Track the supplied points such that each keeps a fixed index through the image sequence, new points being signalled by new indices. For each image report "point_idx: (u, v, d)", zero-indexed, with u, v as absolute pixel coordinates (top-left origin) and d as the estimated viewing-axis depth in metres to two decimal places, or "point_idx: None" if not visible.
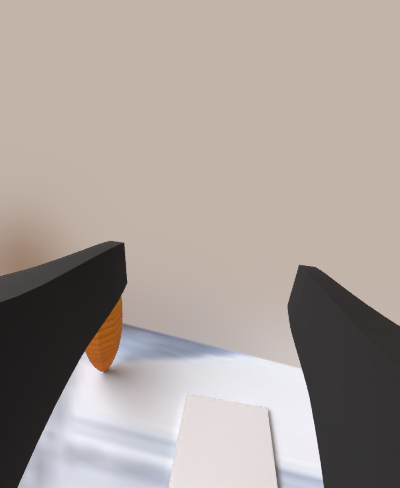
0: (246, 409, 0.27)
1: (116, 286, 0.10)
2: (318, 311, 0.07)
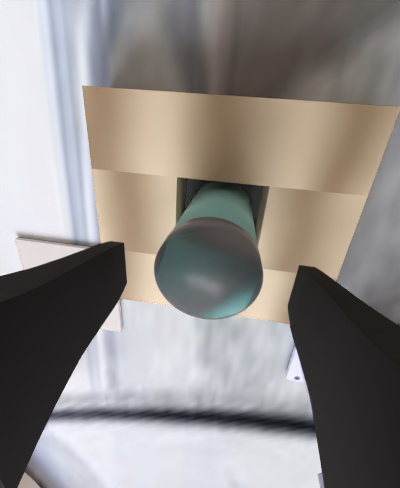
0: (27, 262, 0.22)
1: (116, 286, 0.10)
2: (318, 311, 0.07)
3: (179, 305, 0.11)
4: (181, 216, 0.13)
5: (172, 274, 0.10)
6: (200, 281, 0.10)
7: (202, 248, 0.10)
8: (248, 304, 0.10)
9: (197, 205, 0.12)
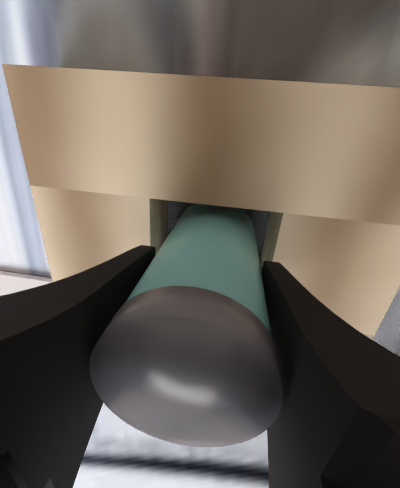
0: None
1: None
2: (273, 305, 0.08)
3: (138, 424, 0.07)
4: None
5: (122, 383, 0.06)
6: (170, 397, 0.06)
7: (170, 350, 0.05)
8: (254, 434, 0.06)
9: (173, 248, 0.08)
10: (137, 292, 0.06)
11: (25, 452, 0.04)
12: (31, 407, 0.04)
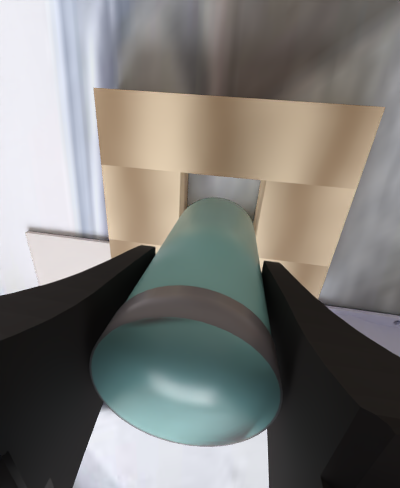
0: (36, 255, 0.24)
1: None
2: (273, 305, 0.08)
3: (138, 424, 0.07)
4: None
5: (122, 383, 0.06)
6: (170, 396, 0.06)
7: (170, 350, 0.05)
8: (254, 433, 0.06)
9: (173, 248, 0.08)
10: (137, 292, 0.06)
11: (25, 452, 0.04)
12: (31, 407, 0.04)
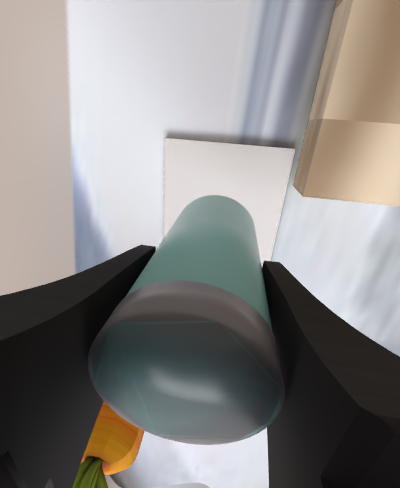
0: (172, 172, 0.18)
1: None
2: (273, 305, 0.08)
3: (136, 420, 0.06)
4: None
5: (120, 378, 0.06)
6: (170, 393, 0.06)
7: (172, 346, 0.05)
8: (253, 432, 0.06)
9: (175, 243, 0.08)
10: (139, 286, 0.06)
11: (25, 452, 0.04)
12: (31, 407, 0.04)
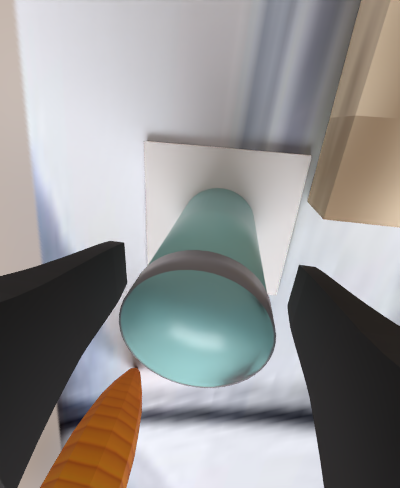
0: (155, 184, 0.15)
1: (116, 286, 0.10)
2: (318, 311, 0.07)
3: (155, 367, 0.08)
4: None
5: (145, 329, 0.07)
6: (185, 341, 0.07)
7: (188, 299, 0.07)
8: (251, 373, 0.07)
9: (186, 226, 0.09)
10: (158, 257, 0.08)
11: None
12: None
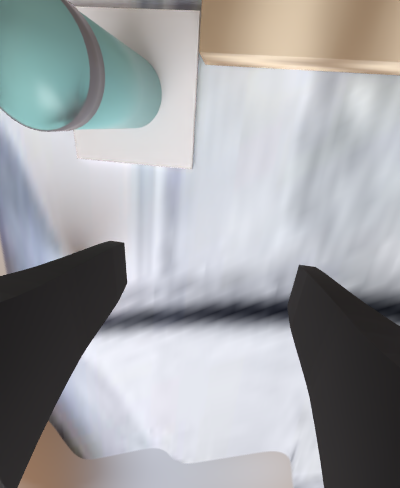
0: None
1: (116, 286, 0.10)
2: (318, 311, 0.07)
3: (12, 112, 0.10)
4: None
5: None
6: (24, 69, 0.09)
7: (14, 13, 0.08)
8: (83, 102, 0.09)
9: None
10: None
11: None
12: None
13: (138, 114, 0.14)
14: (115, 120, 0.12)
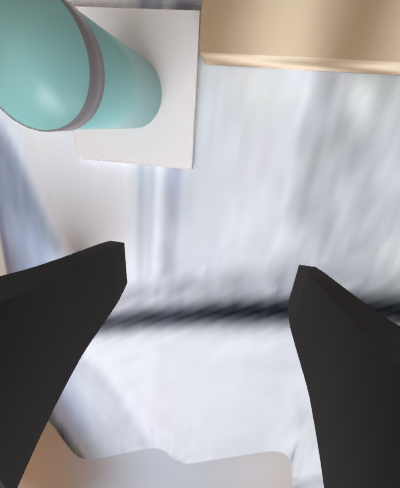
0: None
1: (116, 286, 0.10)
2: (318, 311, 0.07)
3: (12, 112, 0.10)
4: None
5: None
6: (24, 69, 0.09)
7: (14, 13, 0.08)
8: (83, 102, 0.09)
9: None
10: None
11: None
12: None
13: (138, 114, 0.14)
14: (115, 120, 0.12)
